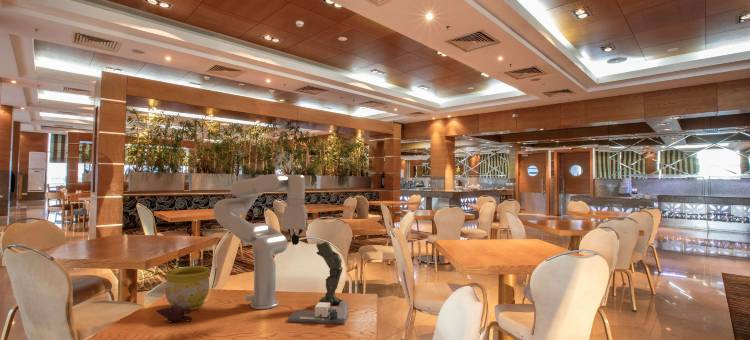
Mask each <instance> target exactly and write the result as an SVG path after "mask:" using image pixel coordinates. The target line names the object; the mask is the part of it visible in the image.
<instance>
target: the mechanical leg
mask: <svg viewBox="0 0 750 340" xmlns="http://www.w3.org/2000/svg"><path fill="white" fill-rule="evenodd" d="M315 247H316V248H317V250H318V251H317V252H316V254H317V255H318V256H320V257H321V258H323V260H324V262H325V264H326V266H327V267H328V269H329V276H327V277H326V278H325V290H326V293H325V296H323V297H321V298H320V299H319V300H318V302H326V303H330V307H334V306H335V307H338V305H339V304H340V302H341V301H344V299H340V298H338V297H337V295H336V290H337V289H338V285H339V283H340V278H341V276H342V272H343V270H344V267H342V258H341V256H340V254H339V253H338V252H336V251H334V250H333V248H332V246H331V244H330V242H329V241H327V240H325V241H324V242H317V243H316V246H315Z"/></svg>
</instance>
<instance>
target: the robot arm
mask: <svg viewBox="0 0 750 340" xmlns="http://www.w3.org/2000/svg"><path fill="white" fill-rule="evenodd" d="M305 185H306V178H305V176H304V175H303V174H285V173H283V174H281V173H279V174H278V173H276V174H275V173H272V174H271V173H270V174H265V175H259V176H256V177H252V178H245V179H241V180H237V181H235V182H233V183H232V184H231V185H230V193H231V195H232V196H233V198H223V199H219V200H218V201H217V202H215V204H214V206H213V214H214V215H213V216H214V218H215V220H216V222H217V224H219V225H220V226H221V227H223V228H224V229H226V230H227V231H229V233H231V234H233V235H234V236H235V237H236V238H238V239H239V240H240V241H242V242H243V243H244V244H246V245H251V246H252V247H251V249H252V251H251V252H252V256H253V265H254V267H253V294H252V295H250V294H246V295H245V301H247V302H248V301H251V302H250V304H249V306H250V308H251V309H256V310H268V309H273V308H275V307H278V305H279V304H280V303H279V299H276V277H277V276H276V272H277V271H276V269H277V268H276V266H277V265H276V261H275V259H274V255H275V256H276V255H279V254H282V253H284V252H285V251H286V250H287V249H288V239H287V237H286V236H285V234H283V233H281V232H280V231H279V230H278V229H276V228H275V227H273V226H271V225H270V224H268V223H266V222H257V223H252V222H249V221H247V220H246V219H245V218H243V217H241V216H242V215H245V214H247V212H249V210H250V209H251V207H252V206H253V205H254V203H255V201H256V200H257V198H258V197H260V196H262V195H264V193H268V192H286V191H287V193H286V194H287V197H286V199H284V200H283V202H284V204H286V205H284V210H283V217H282V218H283V219H282V226H283V231H284V232H288V233H289V234H290V236H291V243H292V245H293V246H294V245H295V246H297V245H298V244H299V243H300V235H301V234H302V233H304V232H307V231H309V230H308V223H309V221H308V211H307V206H306V205H305V198H306V196H305V193H306V191H305V190H306V189H305ZM295 230H296V231H295Z"/></svg>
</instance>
